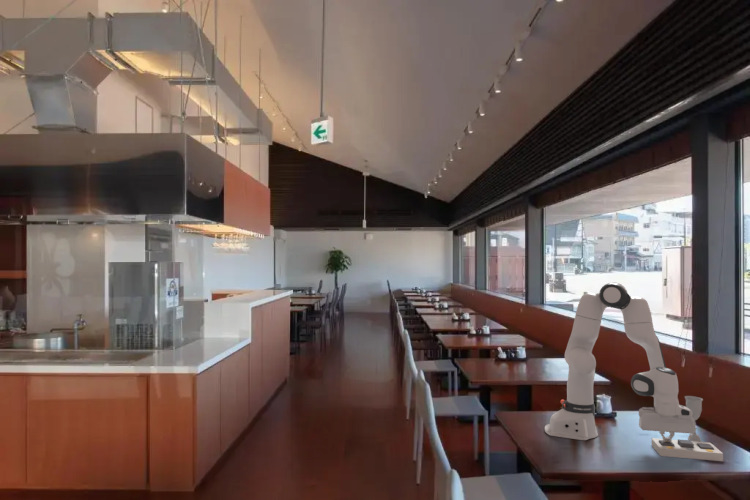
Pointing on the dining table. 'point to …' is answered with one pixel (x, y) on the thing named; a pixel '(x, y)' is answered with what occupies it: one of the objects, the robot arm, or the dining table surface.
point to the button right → (705, 446)
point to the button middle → (685, 443)
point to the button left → (665, 443)
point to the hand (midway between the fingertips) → (667, 442)
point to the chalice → (694, 413)
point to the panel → (687, 451)
